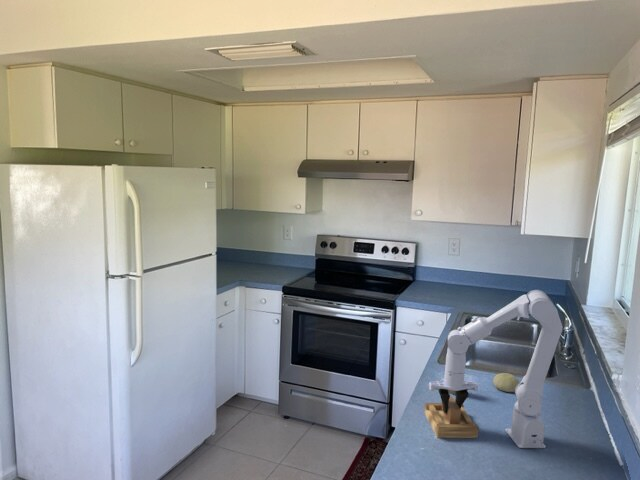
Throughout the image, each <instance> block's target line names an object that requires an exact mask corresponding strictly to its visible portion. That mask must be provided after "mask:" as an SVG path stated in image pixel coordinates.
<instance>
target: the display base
mask: <svg viewBox="0 0 640 480" xmlns="http://www.w3.org/2000/svg"><path fill="white" fill-rule="evenodd" d="M423 413H424V415H425V417H426V419H427V421H428V423H429V425H430V427H431V428H432V431H433V432H434V435H435V437H436V438H437V439H467V438H468V439H469V438H470V439H477V438H478V437H479V435H478V434H479V425H478V424H477V423H475V422H473V420H472V419H471V417H470V416H469V414H468V413H467V411H466V410H465V408H464V404H463V405H462V407H461V415H460V424H450V423H449V422H448V420H447V418H446V417H445V415H444V413H443V412H442V402H425V403H424V412H423Z"/></svg>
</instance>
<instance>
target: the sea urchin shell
mask: <svg viewBox="0 0 640 480" xmlns="http://www.w3.org/2000/svg"><path fill="white" fill-rule="evenodd" d="M520 383H521V381H520V380H519V379H518V378H517V377H516V376H514V374H511V373H510V372H502V373H501V372H500V373H498V374H496V375H494V377H493V379H492V384H493V386H494V387H495V388H496V389H497V390H500V391H502V392H507V393H515V389H516V387H517V385H519V384H520Z"/></svg>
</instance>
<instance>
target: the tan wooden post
mask: <svg viewBox="0 0 640 480" xmlns="http://www.w3.org/2000/svg"><path fill="white" fill-rule="evenodd" d="M455 401H456V399H455V398H454V397H453V396H450V398H449V402H448V411H447V413H444V411H443V405H442V412H443V413H444V415H445V417H446V418H447V420H448V422H449V423H450V424H460V415H461V409H460V408H459V406H458V405H457V403H456V402H455Z"/></svg>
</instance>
